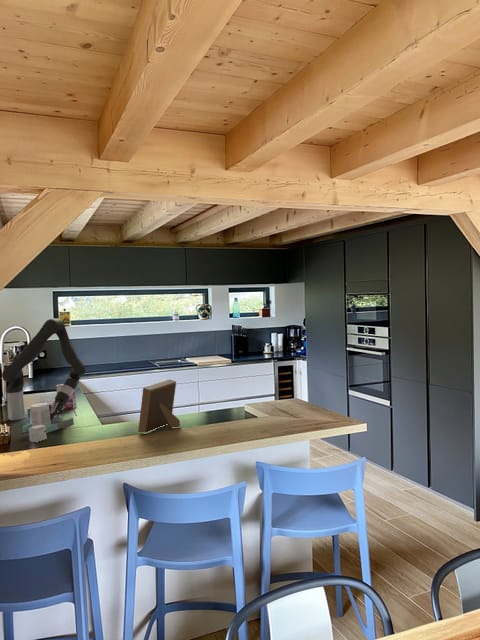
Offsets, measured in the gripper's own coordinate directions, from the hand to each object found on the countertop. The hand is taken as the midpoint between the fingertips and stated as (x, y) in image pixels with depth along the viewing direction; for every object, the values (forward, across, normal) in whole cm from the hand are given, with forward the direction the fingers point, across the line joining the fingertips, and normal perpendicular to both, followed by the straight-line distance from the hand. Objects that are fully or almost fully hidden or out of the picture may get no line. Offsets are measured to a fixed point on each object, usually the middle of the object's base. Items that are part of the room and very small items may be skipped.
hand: (48, 420), depth 271 cm
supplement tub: (+7, 0, 0) cm, 7 cm away
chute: (+3, 0, +3) cm, 4 cm away
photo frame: (-9, +69, +16) cm, 71 cm away
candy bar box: (-23, -30, +30) cm, 48 cm away
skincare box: (+16, +15, -10) cm, 24 cm away
